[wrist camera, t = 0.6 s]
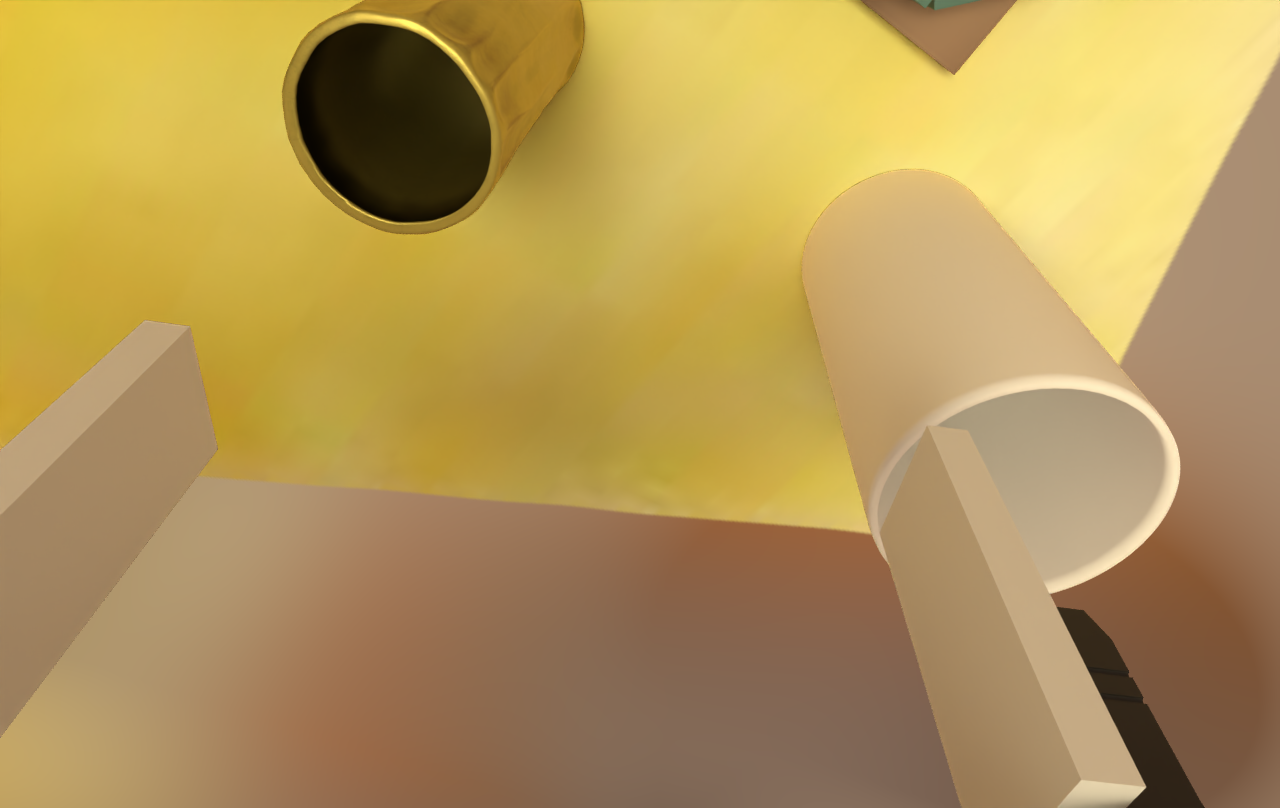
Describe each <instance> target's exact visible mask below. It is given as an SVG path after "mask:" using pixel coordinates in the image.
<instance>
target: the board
mask: <svg viewBox="0 0 1280 808" xmlns="http://www.w3.org/2000/svg"><path fill="white" fill-rule="evenodd" d="M861 1H862V2H863V3H865V4H866V5H867V6H868V7H870V8H871V9H872V10H873V11H875V12H876V13H877V14H878V15H880V16H881V17H882V18H883V19H885V20H886V21H887V22H888V23H890V24H891V25H892V26H893V27H895V28H896V29H897V30H898V31H900V32H901V33H902V34H903V35H905V36H906V37H907V38H908V39H910V40H911V41H912V42H913V43H915V44H916V45H917V46H918V47H920V48H921V49H922V50H923V51H925V52H926V53H927V54H928V55H930V56H931V57H932V58H933V59H935V60H936V61H937V62H938V63H940V64H941V65H942V66H943V67H945V68H946V69H947V70H948V71H950V72H951V73H952V74H953V75H955V73H956V72H957V71H958V70H959V69H960V67H961V66H962V65H963V64H964V63H965V61H966V60H967V59H968V58H969V57H970V55H971V54H972V53H973V52H974V51H975V50H976V48H977V47H978V46H979V45H980V44H981V42H982V41H983V40H984V39H985V38H986V36H987V35H988V34H989V33H990V32H991V30H992V29H993V28H994V27H995V26H996V25H997V23H998V22H999V21H1000V20H1001V19H1002V17H1003V16H1004V15H1005V14H1006V13H1007V11H1008V10H1009V9H1010V8H1011V7H1012V5H1013V4H1014V3H1015V2H1016V1H1017V0H861Z"/></svg>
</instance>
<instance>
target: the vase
mask: <svg viewBox="0 0 1280 808" xmlns="http://www.w3.org/2000/svg"><path fill="white" fill-rule="evenodd" d="M583 40H584V21H583V14H582V8H581V3H580V0H364V1H362V2H360V3H358V4H356V5H354V6H353V7H351V8H350V9H348V10H346V11H344V12H342V13H339V14H337V15H335V16H332V17H331V18H329V19H327V20H325V21H324V22H322V23H320V24H319V25H317V26H316V27H315V28H314V29H312V30H311V31H310V32H309V33H308V34H307V35H306V36H305V37H304V38H303V39H302V41H301V42H300V44H299V46H298V48H297V50H296V52H295V54H294V56H293V58H292V60H291V62H290V64H289V67H288V69H287V72H286V75H285V78H284V83H283V90H282V98H283V111H284V119H285V124H286V129H287V134H288V139H289V141H290V143H291V145H292V147H293V150H294V152H295V154H296V156H297V159H298V161H299V163H300V165H301V166H302V168H303V169H304V171H305V172H306V173H307V175H308V176H309V178H310V179H311V181H312V182H313V183H314V185H315V186H316V187H317V188H318V189H319V190H320V191H321V192H322V194H323V195H324V196H325V197H327V198H328V199H329V200H330V201H331V202H332V203H333V204H334V205H336V206H337V207H338V208H340V209H341V210H342V211H344V212H345V213H347V214H348V215H350V216H352V217H353V218H355V219H356V220H359V221H361V222H363V223H365V224H367V225H369V226H371V227H374V228H376V229H379V230H382V231H385V232H390V233H396V234H427V233H432V232H437V231H439V230H442V229H445V228H448V227H450V226H453V225H455V224H457V223H459V222H461V221H463V220H465V219H466V218H468V217H469V216H471V215H472V214H473V213H474V212H475V211H476V210H478V209H479V207H480V206H481V205H482V203H483V202H484V201H485V200H486V198H487V197H488V196H489V194H490V193H491V191H492V190H493V188H494V187H495V185H496V184H497V182H498V181H499V179H500V178H501V176H502V175H503V173H504V171H505V169H506V168H507V166H508V164H509V162H510V160H511V158H512V157H513V155H514V153H515V152H516V150H517V148H518V147H519V145H520V144H521V142H522V140H523V139H524V137H525V136H526V135H527V133H528V132H529V130H530V129H531V127H532V126H533V124H534V123H535V122H536V120H537V119H538V118H539V116H540V114H541V113H542V111H543V109H544V108H545V107H546V106H547V105H548V104H549V102H550V101H551V99H552V98H553V96H554V95H555V94H556V93H557V92H558V91H559V90H560V89H561V88H562V87H563V86H564V85H565V84H566V83H567V82H568V81H569V79H570V77H571V76H572V74H573V72H574V70H575V68H576V66H577V63H578V61H579V58H580V55H581V52H582V47H583Z"/></svg>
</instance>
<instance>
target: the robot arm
mask: <svg viewBox="0 0 1280 808" xmlns="http://www.w3.org/2000/svg"><path fill="white" fill-rule="evenodd" d="M217 450H218V447H217V442H216V438H215V434H214V429H213V425H212V420H211V416H210V412H209V407H208V403H207V398H206V394H205V390H204V385H203V381H202V376H201V372H200V368H199V363H198V359H197V354H196V350H195V346H194V341H193V337H192V333H191V328H190V326H185V325H177V324H170V323H162V322H155V321H147V320H144V321H143V322H142V323H141V324H140V325H139V326H138V327H137V328H136V329H134V330H133V331H132V332H131V333H130V334H129V335H128V336H127V337H126V338H124V339H123V340H122V341H121V342H120V343H119V344H118V345H117V346H116V347H114V348H113V349H112V350H111V351H110V352H109V353H108V354H107V355H106V356H104V357H103V358H102V359H101V360H100V361H99V362H98V363H97V364H96V365H94V366H93V367H92V368H91V369H90V370H89V371H88V372H87V373H86V374H84V375H83V376H82V377H81V378H80V379H79V380H78V381H77V382H76V383H74V384H73V385H72V386H71V387H70V388H69V389H68V390H67V391H66V392H64V393H63V394H62V395H61V396H60V397H59V398H58V399H57V400H56V401H54V402H53V403H52V404H51V405H50V406H49V407H48V408H47V409H46V410H44V411H43V412H42V413H41V414H40V415H39V416H38V417H37V418H36V419H34V420H33V421H32V422H31V423H30V424H29V425H28V426H27V427H26V428H24V429H23V430H22V431H21V432H20V433H19V434H18V435H17V436H16V437H14V438H13V439H12V440H11V441H10V442H9V443H8V444H7V445H6V446H5V447H3V448H2V449H1V450H0V738H1V736H2V735H3V734H4V732H5V731H6V730H7V728H8V727H9V725H10V724H11V723H12V722H13V720H14V719H15V718H16V716H17V715H18V714H19V712H20V711H21V709H22V708H23V707H24V706H25V704H26V703H27V702H28V700H29V699H30V698H31V696H32V695H33V694H34V692H35V691H36V690H37V688H38V687H39V686H40V684H41V683H42V682H43V680H44V679H45V678H46V676H47V675H48V674H49V672H50V671H51V670H52V668H53V667H54V666H55V665H56V663H57V662H58V661H59V659H60V658H61V657H62V655H63V654H64V653H65V651H66V650H67V649H68V647H69V646H70V644H71V643H72V642H73V641H74V639H75V638H76V636H77V635H78V634H79V633H80V631H81V630H82V629H83V627H84V626H85V625H86V623H87V622H88V621H89V619H90V618H91V617H92V615H93V614H94V613H95V611H96V610H97V609H98V607H99V606H100V605H101V603H102V602H103V601H104V600H105V598H106V597H107V596H108V594H109V593H110V592H111V590H112V589H113V588H114V586H115V585H116V584H117V582H118V581H119V579H120V578H121V577H122V576H123V574H124V573H125V572H126V570H127V569H128V568H129V566H130V565H131V564H132V562H133V561H134V560H135V558H136V557H137V556H138V554H139V553H140V552H141V550H142V549H143V548H144V546H145V545H146V544H147V543H148V541H149V540H150V539H151V537H152V536H153V534H154V533H155V532H156V531H157V529H158V528H159V526H160V525H161V524H162V522H163V521H164V520H165V519H166V517H167V516H168V515H169V513H170V512H171V511H172V509H173V508H174V507H175V505H176V504H177V503H178V501H179V500H180V499H181V497H182V496H183V495H184V493H185V492H186V491H187V489H188V488H189V487H190V485H191V484H192V483H193V481H194V480H195V479H196V477H197V476H198V475H199V474H200V472H201V471H202V470H203V468H204V467H205V466H206V464H207V463H208V462H209V460H210V459H211V458H212V456H213V455H214V454H215V452H216V451H217ZM880 536H881V539H882V543H883V546H884V550H885V553H886V556H887V560H888V563H889V566H890V570H891V573H892V576H893V579H894V583H895V587H896V590H897V593H898V597H899V600H900V603H901V607H902V610H903V613H904V617H905V620H906V623H907V627H908V630H909V634H910V637H911V640H912V643H913V647H914V650H915V654H916V657H917V660H918V664H919V667H920V671H921V674H922V677H923V681H924V684H925V687H926V691H927V694H928V697H929V701H930V704H931V707H932V711H933V714H934V718H935V721H936V724H937V728H938V731H939V734H940V738H941V741H942V744H943V748H944V751H945V754H946V758H947V761H948V764H949V768H950V771H951V774H952V778H953V781H954V785H955V788H956V791H957V795H958V798H959V801H960V805H961V808H1205V807H1204V806H1203V804H1202V803H1201V801H1200V800H1199V798H1198V796H1197V794H1196V793H1195V791H1194V789H1193V787H1192V785H1191V783H1190V782H1189V780H1188V778H1187V776H1186V774H1185V772H1184V771H1183V769H1182V767H1181V765H1180V763H1179V762H1178V760H1177V758H1176V756H1175V754H1174V753H1173V751H1172V749H1171V747H1170V745H1169V743H1168V741H1167V740H1166V738H1165V736H1164V735H1163V732H1162V731H1161V729H1160V727H1159V725H1158V723H1157V722H1156V720H1155V718H1154V716H1153V714H1152V712H1151V711H1150V709H1149V707H1148V706H1147V704H1144V703H1143V696H1142V694H1141V692H1140V690H1139V689H1138V687H1137V685H1136V683H1135V681H1134V680H1133V678H1130V677H1129V675H1128V673H1129V670H1128V669H1127V667H1126V665H1125V663H1124V662H1123V660H1122V658H1121V656H1120V654H1119V652H1118V650H1117V649H1116V647H1115V645H1114V643H1113V641H1112V640H1111V639H1110V637H1109V636H1107V634H1106V633H1105V632H1104V631H1103V630H1102V629H1101V628H1100V627H1099V626H1098V625H1097V624H1096V623H1095V622H1094V621H1093V620H1092V619H1091V618H1090V617H1089V616H1088V615H1087V614H1086V613H1085V611H1084V610H1076V609H1069V608H1060V607H1056V606H1055V604H1054V602H1053V600H1052V598H1051V596H1050V594H1049V592H1048V590H1047V588H1046V586H1045V584H1044V582H1043V580H1042V578H1041V576H1040V574H1039V572H1038V570H1037V568H1036V566H1035V564H1034V562H1033V560H1032V558H1031V556H1030V554H1029V552H1028V550H1027V548H1026V546H1025V544H1024V542H1023V540H1022V538H1021V536H1020V534H1019V532H1018V530H1017V528H1016V526H1015V524H1014V522H1013V520H1012V518H1011V516H1010V514H1009V512H1008V510H1007V508H1006V506H1005V504H1004V502H1003V500H1002V498H1001V496H1000V494H999V492H998V490H997V488H996V486H995V484H994V482H993V480H992V478H991V476H990V474H989V472H988V470H987V468H986V466H985V464H984V462H983V460H982V458H981V456H980V454H979V452H978V450H977V448H976V446H975V444H974V442H973V440H972V438H971V436H970V434H969V432H968V430H960V429H953V428H945V427H938V426H931V425H927V426H926V429H925V431H924V433H923V435H922V438H921V440H920V442H919V444H918V447H917V449H916V451H915V453H914V456H913V458H912V460H911V462H910V465H909V467H908V469H907V472H906V474H905V476H904V478H903V481H902V483H901V485H900V487H899V490H898V492H897V494H896V496H895V499H894V501H893V503H892V505H891V508H890V510H889V512H888V514H887V517H886V519H885V521H884V523H883V526H882V528H881V530H880Z"/></svg>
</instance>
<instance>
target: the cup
mask: <svg viewBox="0 0 1280 808" xmlns="http://www.w3.org/2000/svg"><path fill="white" fill-rule="evenodd" d="M802 280H803V285H804V289H805V293H806V297H807V300H808V304H809V308H810V311H811V315H812V319H813V322H814V326H815V330H816V333H817V337H818V341H819V344H820V348H821V352H822V355H823V359H824V363H825V367H826V370H827V374H828V378H829V381H830V385H831V389H832V392H833V396H834V400H835V403H836V407H837V411H838V414H839V418H840V422H841V425H842V429H843V433H844V436H845V440H846V444H847V448H848V451H849V455H850V459H851V462H852V466H853V470H854V473H855V477H856V481H857V484H858V488H859V491H860V495H861V499H862V502H863V506H864V510H865V513H866V517H867V520H868V524H869V527H870V530H871V533H872V536H873V538H874V540H875V543H876V545H877V547H878V549H879V551H880V553H881V554H882V556H883V557H884V559H885V560H886V561H887V562H888V560H887V556H886V553H885V550H884V546H883V543H882V539H881V536H880V530H881V528H882V526H883V523H884V521H885V519H886V517H887V514H888V512H889V510H890V508H891V505H892V503H893V501H894V499H895V496H896V494H897V492H898V490H899V487H900V485H901V483H902V481H903V478H904V476H905V474H906V472H907V469H908V467H909V465H910V462H911V460H912V458H913V456H914V453H915V451H916V449H917V447H918V444H919V442H920V440H921V438H922V435H923V433H924V431H925V429H926V426H927V425H931V426H938V427H945V428H953V429H960V430H968V432H969V434H970V436H971V438H972V440H973V442H974V444H975V446H976V448H977V450H978V452H979V454H980V456H981V458H982V460H983V462H984V464H985V466H986V468H987V470H988V472H989V474H990V476H991V478H992V480H993V482H994V484H995V486H996V488H997V490H998V492H999V494H1000V496H1001V498H1002V500H1003V502H1004V504H1005V506H1006V508H1007V510H1008V512H1009V514H1010V516H1011V518H1012V520H1013V522H1014V524H1015V526H1016V528H1017V530H1018V532H1019V534H1020V536H1021V538H1022V540H1023V542H1024V544H1025V546H1026V548H1027V550H1028V552H1029V554H1030V556H1031V558H1032V560H1033V562H1034V564H1035V566H1036V568H1037V570H1038V572H1039V574H1040V576H1041V578H1042V580H1043V582H1044V584H1045V586H1046V588H1047V590H1048V592H1049V594H1051V593H1055V592H1058V591H1061V590H1064V589H1067V588H1070V587H1073V586H1075V585H1078V584H1080V583H1083V582H1085V581H1087V580H1089V579H1091V578H1093V577H1095V576H1097V575H1099V574H1101V573H1103V572H1105V571H1106V570H1108V569H1110V568H1111V567H1113V566H1114V565H1116V564H1117V563H1119V562H1120V561H1122V560H1123V559H1124V558H1126V557H1127V556H1129V555H1130V554H1131V553H1132V552H1133V551H1135V550H1136V549H1137V548H1138V547H1139V546H1140V545H1141V544H1142V543H1143V542H1144V541H1145V540H1146V539H1147V538H1148V537H1149V536H1150V535H1151V534H1152V533H1153V532H1154V530H1155V529H1156V528H1157V527H1158V526H1159V524H1160V523H1161V521H1162V520H1163V518H1164V517H1165V515H1166V514H1167V512H1168V510H1169V508H1170V506H1171V504H1172V501H1173V499H1174V497H1175V494H1176V491H1177V487H1178V483H1179V477H1180V458H1179V453H1178V448H1177V445H1176V443H1175V440H1174V437H1173V436H1172V434H1171V432H1170V430H1169V429H1168V427H1167V425H1166V423H1165V422H1164V420H1163V419H1162V417H1161V416H1160V415H1159V413H1158V412H1157V411H1156V409H1155V408H1154V407H1153V406H1152V404H1151V403H1149V401H1148V400H1147V399H1146V397H1145V396H1144V395H1143V394H1142V393H1141V391H1140V390H1139V389H1138V388H1137V387H1136V385H1134V383H1133V382H1132V381H1131V379H1130V378H1129V377H1128V376H1127V375H1126V373H1125V372H1124V371H1123V370H1122V369H1121V367H1120V366H1119V365H1118V364H1117V363H1116V361H1115V360H1114V359H1113V358H1112V357H1111V356H1110V354H1109V353H1108V352H1107V351H1106V350H1105V348H1104V347H1103V346H1102V345H1101V344H1100V343H1099V341H1098V340H1097V339H1096V338H1095V337H1094V335H1093V334H1092V333H1091V332H1090V331H1089V330H1088V328H1087V327H1086V326H1085V325H1084V324H1083V322H1082V321H1081V320H1080V319H1079V318H1078V316H1077V315H1076V314H1075V313H1074V312H1073V311H1072V309H1071V308H1070V307H1069V306H1068V305H1067V303H1066V302H1065V301H1064V300H1063V299H1062V298H1061V296H1060V295H1059V294H1058V293H1057V292H1056V290H1055V289H1054V288H1053V287H1052V286H1051V285H1050V283H1049V282H1048V281H1047V280H1046V279H1045V277H1044V276H1043V275H1042V274H1041V273H1040V271H1039V270H1038V269H1037V268H1036V267H1035V266H1034V264H1033V263H1032V262H1031V261H1030V260H1029V258H1028V257H1027V256H1026V255H1025V254H1024V253H1023V251H1022V250H1021V249H1020V248H1019V247H1018V245H1017V244H1016V243H1015V242H1014V241H1013V239H1012V238H1011V237H1010V236H1009V235H1008V234H1007V232H1006V231H1005V230H1004V229H1003V228H1002V226H1001V225H1000V224H999V223H998V222H997V221H996V219H995V218H994V217H993V216H992V215H991V213H990V212H989V211H988V210H987V209H986V208H985V206H984V205H983V204H982V203H981V202H980V200H979V199H978V198H977V197H976V196H975V195H974V194H973V193H972V192H971V191H970V190H969V189H968V188H967V187H965V186H964V185H963V184H961V183H960V182H958V181H957V180H955V179H953V178H951V177H948V176H946V175H943V174H940V173H937V172H933V171H928V170H919V169H906V170H896V171H890V172H886V173H882V174H879V175H876V176H873V177H870V178H868V179H866V180H864V181H862V182H860V183H858V184H856V185H854V186H852V187H851V188H849V189H848V190H847V191H845V192H844V193H842V194H841V195H840V196H839V197H837V198H836V199H835V200H834V201H833V202H832V203H831V204H830V205H829V206H828V207H827V208H826V209H825V211H824V212H823V213H822V214H821V216H820V217H819V218H818V220H817V221H816V223H815V225H814V226H813V228H812V230H811V232H810V234H809V236H808V239H807V242H806V244H805V248H804V252H803V258H802Z"/></svg>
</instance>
